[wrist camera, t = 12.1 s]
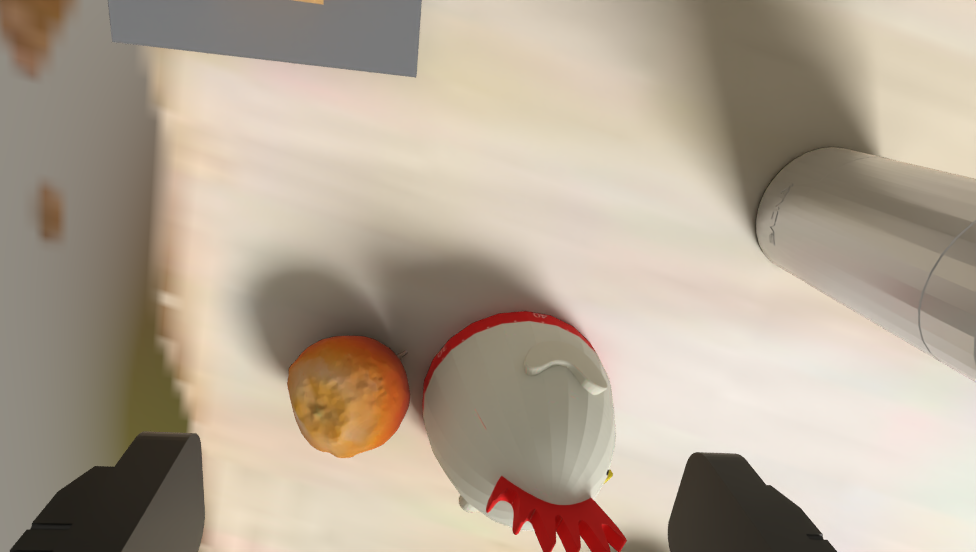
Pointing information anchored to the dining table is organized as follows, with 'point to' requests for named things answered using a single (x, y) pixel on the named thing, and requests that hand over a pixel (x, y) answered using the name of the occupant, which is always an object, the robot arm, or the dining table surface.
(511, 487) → the kitchen timer
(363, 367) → the fruit
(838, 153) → the robot arm
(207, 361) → the dining table surface
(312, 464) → the dining table surface
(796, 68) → the dining table surface
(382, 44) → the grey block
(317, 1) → the peach colored cube
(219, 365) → the dining table surface
